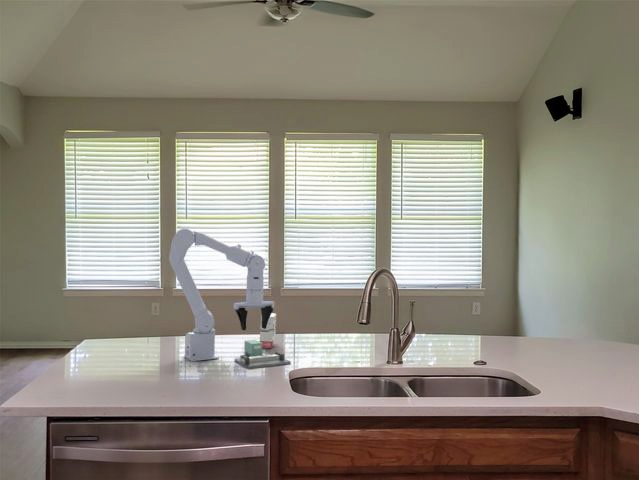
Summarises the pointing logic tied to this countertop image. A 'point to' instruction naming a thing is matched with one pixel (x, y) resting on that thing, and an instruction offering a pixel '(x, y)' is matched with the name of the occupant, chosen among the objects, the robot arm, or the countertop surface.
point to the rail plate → (262, 360)
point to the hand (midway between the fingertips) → (253, 329)
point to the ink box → (268, 332)
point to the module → (253, 348)
